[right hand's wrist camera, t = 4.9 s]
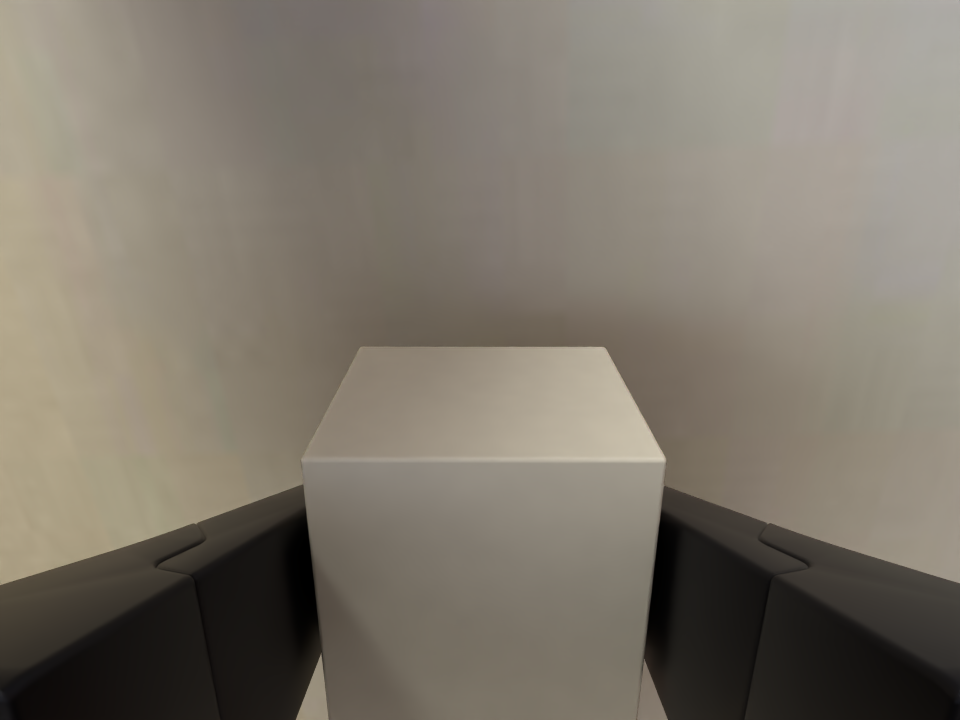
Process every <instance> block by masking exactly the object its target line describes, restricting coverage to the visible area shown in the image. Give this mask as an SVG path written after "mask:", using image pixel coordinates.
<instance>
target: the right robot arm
mask: <svg viewBox="0 0 960 720" xmlns="http://www.w3.org/2000/svg"><path fill="white" fill-rule="evenodd" d="M320 655H321V643H320V634H319V624H318V615H317V606H316V597H315V587H314V578H313V569H312V559H311V550H310V541H309V532H308V522H307V513H306V504H305V495H304V485H300V486H297V487H295V488H292V489H289V490H286V491H284V492H281V493H278V494H275V495H273V496H270V497H267V498H264V499H262V500H259V501H256V502H253V503H251V504H248V505H245V506H242V507H240V508H237V509H234V510H231V511H229V512H226V513H223V514H220V515H218V516H215V517H212V518H209V519H207V520H204V521H201V522H198V523H197V525H196V524H191V525H188V526H185V527H182V528H179V529H177V530H174V531H171V532H168V533H165V534H162V535H159V536H156V537H154V538H151V539H148V540H145V541H142V542H138V543H135V544H132V545H129V546H126V547H123V548H120V549H117V550H113V551H110V552H107V553H104V554H100V555H97V556H94V557H91V558H87V559H84V560H81V561H78V562H74V563H71V564H68V565H65V566H61V567H58V568H55V569H52V570H48V571H45V572H42V573H39V574H35V575H32V576H29V577H26V578H22V579H19V580H16V581H13V582H9V583H6V584H3V585H0V720H296V717H297V715H298V712H299V710H300V707H301V704H302V702H303V699H304V697H305V694H306V691H307V689H308V686H309V684H310V681H311V678H312V676H313V673H314V670H315V668H316V665H317V663H318V660H319V657H320ZM644 659H645V662H646V664H647V667H648V669H649V672H650V674H651V677H652V680H653V682H654V685H655V687H656V690H657V693H658V695H659V698H660V700H661V703H662V705H663V708H664V711H665V713H666V716H667V718H668V720H960V584H959V583H956V582H953V581H950V580H946V579H943V578H940V577H936V576H933V575H930V574H927V573H923V572H920V571H917V570H913V569H910V568H907V567H904V566H900V565H897V564H894V563H891V562H887V561H884V560H881V559H877V558H874V557H871V556H868V555H864V554H861V553H858V552H855V551H851V550H848V549H845V548H842V547H839V546H835V545H832V544H829V543H826V542H823V541H820V540H817V539H814V538H811V537H808V536H805V535H802V534H799V533H796V532H793V531H790V530H787V529H785V528H782V527H779V526H776V525H774V524H767V523H765V522H763V521H760V520H757V519H754V518H752V517H749V516H746V515H743V514H741V513H738V512H735V511H732V510H730V509H727V508H724V507H721V506H718V505H716V504H713V503H710V502H707V501H705V500H702V499H699V498H696V497H694V496H691V495H688V494H685V493H682V492H680V491H677V490H674V489H671V488H669V487H666V486H664V489H663V497H662V506H661V515H660V523H659V532H658V541H657V549H656V558H655V567H654V575H653V584H652V593H651V601H650V610H649V619H648V628H647V636H646V645H645V654H644Z"/></svg>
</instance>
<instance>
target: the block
mask: <svg viewBox="0 0 960 720" xmlns="http://www.w3.org/2000/svg"><path fill="white" fill-rule="evenodd" d="M666 463H667V460H666V458H665V456H664V454H663V452H662V450H661V449H660V447H659V445H658V443H657V441H656V439H655V438H654V436H653V434H652V432H651V430H650V428H649V427H648V425H647V423H646V421H645V419H644V417H643V416H642V414H641V412H640V410H639V408H638V406H637V405H636V403H635V401H634V399H633V397H632V395H631V394H630V392H629V390H628V388H627V386H626V384H625V383H624V381H623V379H622V377H621V375H620V374H619V372H618V370H617V368H616V366H615V364H614V363H613V361H612V359H611V357H610V355H609V353H608V352H607V350H606V348H604V347H360V348H359V350H358V352H357V354H356V356H355V358H354V359H353V361H352V363H351V365H350V367H349V369H348V371H347V373H346V375H345V377H344V378H343V380H342V382H341V384H340V386H339V388H338V390H337V392H336V394H335V396H334V397H333V399H332V401H331V403H330V405H329V407H328V409H327V411H326V413H325V415H324V416H323V418H322V420H321V422H320V424H319V426H318V428H317V430H316V432H315V434H314V435H313V437H312V439H311V441H310V443H309V445H308V447H307V449H306V451H305V453H304V454H303V456H302V459H301V467H302V476H303V485H304V495H305V504H306V513H307V522H308V532H309V541H310V550H311V559H312V569H313V578H314V587H315V597H316V606H317V615H318V624H319V634H320V643H321V652H322V661H323V671H324V680H325V689H326V699H327V708H328V717H329V720H637V714H638V706H639V697H640V688H641V680H642V671H643V662H644V654H645V645H646V636H647V628H648V619H649V610H650V601H651V593H652V584H653V575H654V567H655V558H656V549H657V541H658V532H659V523H660V515H661V506H662V497H663V489H664V480H665V471H666Z"/></svg>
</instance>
